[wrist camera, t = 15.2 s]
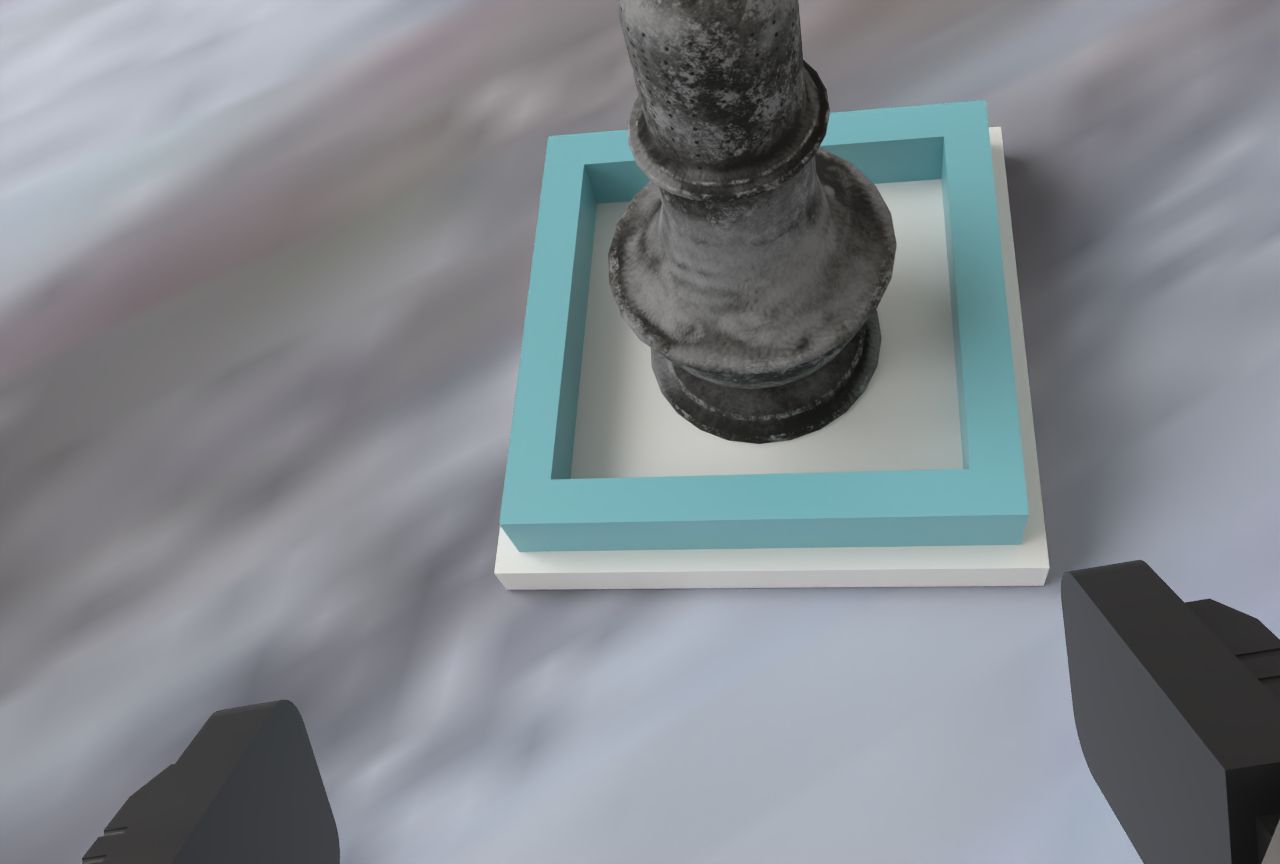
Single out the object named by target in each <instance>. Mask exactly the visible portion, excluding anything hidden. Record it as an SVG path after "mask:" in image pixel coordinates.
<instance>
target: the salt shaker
mask: <svg viewBox="0 0 1280 864" xmlns="http://www.w3.org/2000/svg"><path fill="white" fill-rule="evenodd" d="M618 2H619V18H620V22H621V26H622V30H623V34H624V38H625V42H626V46H627V50H628V54H629V58H630V62H631V66H632V70H633V74H634V78H635V82H636V86H637V90H638V96H637V97H636V99H635V101H634V102H633V105H632V109H631V112H630V116H629V119H628V143H629V146H630V149H631V151H632V154H633V156H634V159H635V161H636V164H637V165H638V167H639V168H640V169H641V170H642V171H643V172H644V174H645V175H646V176H647V177H648V178H649V179H650V181H649V182H648V183H647V184H646V185H645V186H644V187H643V188H642V189H641V190H640V191H639V192H638V193H637V194H636V195H635V196H634V197H633V198H632V200H631V202H630V203H629V205H628V207H627V208H626V210H625V211H624V213H623V215H622V216H621V218H620V220H619V221H618V223H617V224H616V228H615V231H614V235H613V238H612V242H611V246H610V249H609V253H608V268H609V286H610V288H611V291H612V294H613V296H614V299H615V302H616V304H617V307H618V310H619V312H620V315H621V317H622V318H623V319H624V320H625V322H626V323H627V324H628V325H629V327H630V328H631V329H632V330H633V332H634V333H635V334H636V335H637V337H638V338H639V339H640V340H641V341H642V342H643V343H645V344H646V345H648V346H649V347H651V364H652V369H653V372H654V374H655V377H656V380H657V382H658V385H659V388H660V390H661V393H662V394H663V396H664V397H665V398H666V399H667V401H668V402H669V403H670V404H671V406H672V407H673V408H674V410H675V411H676V412H677V413H678V414H679V415H680V416H682V417H683V418H684V419H686V420H687V421H689V422H690V423H691V424H693V425H694V426H696V427H697V428H698V429H700V430H702V431H704V432H707V433H710V434H712V435H715V436H718V437H720V438H723V439H726V440H728V441H737V442H745V443H754V444H764V443H772V442H781V441H789V440H793V439H796V438H798V437H801V436H804V435H807V434H809V433H812V432H815V431H818V430H820V429H822V428H823V427H825V426H826V425H828V424H829V423H831V422H832V421H834V420H835V419H837V418H838V417H840V416H841V415H843V414H844V413H846V412H847V411H848V410H849V408H850V407H851V406H852V405H853V404H854V403H855V402H856V401H857V399H858V398H859V397H860V396H861V395H862V394H863V393H864V392H865V390H866V388H867V386H868V384H869V382H870V380H871V378H872V376H873V374H874V372H875V370H876V368H877V366H878V359H879V352H880V346H881V331H880V325H879V319H878V313H877V310H876V309H877V307H878V305H879V303H880V301H881V299H882V297H883V295H884V293H885V291H886V289H887V287H888V285H889V283H890V281H891V279H892V273H893V266H894V260H895V253H896V246H897V243H896V238H895V232H894V227H893V221H892V216H891V212H890V210H889V209H888V207H887V205H886V203H885V201H884V200H883V198H882V196H881V194H880V192H879V191H878V189H877V187H876V186H875V185H874V184H873V183H872V182H871V181H870V180H869V179H868V178H867V177H866V176H865V175H864V174H863V173H862V172H861V171H860V170H859V169H858V168H857V167H855V166H854V165H853V164H852V163H850V162H848V161H846V160H844V159H843V158H841V157H839V156H837V155H835V154H833V153H831V152H830V151H828V150H826V149H824V148H820V145H821V143H822V141H823V139H824V138H825V136H826V132H827V126H828V121H829V116H830V110H829V103H828V97H827V90H826V88H825V87H824V85H823V83H822V81H821V79H820V77H819V75H818V74H817V72H816V71H815V70H814V69H813V68H812V67H811V66H810V65H809V64H807V63H806V62H805V61H804V60H803V53H802V41H801V28H800V16H799V3H798V0H618Z"/></svg>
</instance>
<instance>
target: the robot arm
mask: <svg viewBox="0 0 1280 864" xmlns="http://www.w3.org/2000/svg"><path fill="white" fill-rule="evenodd" d="M1061 599H1062V609H1063V618H1064V627H1065V637H1066V646H1067V655H1068V664H1069V674H1070V683H1071V692H1072V701H1073V710H1074V717H1075V723H1076V728H1077V732H1078V736H1079V740H1080V744H1081V747H1082V751H1083V754H1084V757H1085V760H1086V762H1087V765H1088V767H1089V769H1090V772H1091V774H1092V776H1093V778H1094V779H1095V781H1096V783H1097V784H1098V786H1099V788H1100V790H1101V791H1102V793H1103V795H1104V796H1105V798H1106V800H1107V801H1108V803H1109V805H1110V807H1111V808H1112V810H1113V812H1114V813H1115V815H1116V817H1117V819H1118V820H1119V822H1120V824H1121V825H1122V827H1123V829H1124V830H1125V832H1126V834H1127V836H1128V837H1129V839H1130V841H1131V842H1132V844H1133V846H1134V847H1135V849H1136V851H1137V853H1138V854H1139V856H1140V858H1141V859H1142V861H1143V863H1144V864H1280V640H1279V639H1278V638H1277V637H1276V636H1275V635H1274V634H1273V633H1272V632H1271V631H1270V630H1269V629H1268V628H1267V627H1265V626H1264V625H1263V624H1262V623H1261V622H1260V621H1259V620H1258V619H1256V618H1254V617H1252V616H1249V615H1247V614H1245V613H1242V612H1240V611H1238V610H1235V609H1233V608H1230V607H1228V606H1226V605H1223V604H1221V603H1219V602H1216V601H1214V600H1212V599H1205V600H1199V601H1193V602H1186V603H1184V602H1183V601H1182V600H1181V599H1180V598H1179V597H1178V596H1177V595H1176V594H1175V593H1174V591H1173V590H1172V589H1171V588H1170V587H1169V586H1168V585H1167V584H1166V583H1165V582H1164V581H1163V580H1162V579H1161V578H1160V577H1159V576H1158V575H1157V574H1156V573H1155V572H1154V571H1153V570H1152V569H1151V567H1150V566H1149V565H1148V564H1147V563H1145V562H1144V561H1142V560H1136V561H1130V562H1124V563H1118V564H1112V565H1106V566H1100V567H1094V568H1088V569H1082V570H1076V571H1069V572H1065V573H1064V574H1063V576H1062V581H1061ZM82 860H83V863H82V864H339V863H340V849H339V838H338V832H337V827H336V823H335V820H334V817H333V813H332V810H331V807H330V804H329V801H328V798H327V794H326V791H325V788H324V785H323V782H322V779H321V776H320V772H319V769H318V766H317V763H316V760H315V757H314V753H313V750H312V747H311V744H310V741H309V738H308V734H307V731H306V728H305V725H304V722H303V719H302V717H301V715H300V713H299V711H298V709H297V708H296V706H295V705H294V704H293V703H292V702H290V701H289V700H279V701H273V702H267V703H261V704H255V705H249V706H243V707H237V708H231V709H225V710H219V711H217V712H215V713H213V715H212V716H211V717H210V718H209V719H208V721H207V722H206V723H205V725H204V726H203V727H202V729H201V730H200V731H199V733H198V734H197V735H196V737H195V738H194V739H193V741H192V742H191V743H190V745H189V746H188V747H187V749H186V750H185V751H184V753H183V754H182V755H181V757H180V758H179V759H178V761H177V762H176V763H175V764H172V765H170V766H169V767H168V768H166V769H165V770H164V771H162V772H161V773H160V774H159V775H157V776H156V777H155V778H153V779H152V780H151V781H150V782H148V783H147V784H146V785H144V786H143V787H142V788H141V789H139V790H138V791H137V792H135V793H134V794H133V795H132V796H130V797H129V799H128V800H127V801H126V802H125V804H124V805H123V806H122V808H121V809H120V810H119V811H118V813H117V814H116V815H115V817H114V818H113V819H112V821H111V822H110V823H109V824H108V826H107V827H106V828H105V830H104V836H103V837H98V839H97V840H96V841H95V842H94V844H93V845H92V846H91V848H90V849H89V850H88V851H87V853H86V854H85V855H84V857H83V858H82Z"/></svg>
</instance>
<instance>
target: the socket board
mask: <svg viewBox="0 0 1280 864" xmlns="http://www.w3.org/2000/svg"><path fill="white" fill-rule="evenodd" d="M820 148H824V149H826V150H828V151H830V152H831V153H833V154H835V155H837V156H839V157H841V158H843V159H844V160H846V161H848V162H850V163H852V164H853V165H854V166H855V167H857V168H858V169H859V170H860V171H861V172H862V173H863V174H864V175H865V176H866V177H867V178H868V179H869V180H870V181H871V182H872V183H873V184H874V185H875V186H876V187H877V189H878V191H879V192H880V194H881V196H882V198H883V200H884V201H885V203H886V205H887V207H888V209H889V210H890V212H891V216H892V221H893V227H894V232H895V238H896V243H897V246H896V253H895V260H894V266H893V273H892V279H891V281H890V283H889V285H888V287H887V289H886V291H885V293H884V295H883V297H882V299H881V301H880V303H879V305H878V307H877V309H876V310H877V313H878V319H879V325H880V331H881V346H880V352H879V359H878V366H877V368H876V370H875V372H874V374H873V376H872V378H871V380H870V382H869V384H868V386H867V388H866V390H865V392H864V393H863V394H862V395H861V396H860V397H859V398H858V399H857V401H856V402H855V403H854V404H853V405H852V406H851V407H850V408H849V410H848V411H847V412H846V413H844V414H843V415H841V416H840V417H838V418H837V419H835V420H834V421H832V422H831V423H829V424H828V425H826V426H825V427H823V428H822V429H820V430H818V431H815V432H812V433H809V434H807V435H804V436H801V437H798V438H796V439H793V440H789V441H781V442H772V443H764V444H754V443H745V442H737V441H728V440H726V439H723V438H720V437H718V436H715V435H712V434H710V433H707V432H704V431H702V430H700V429H698V428H697V427H696V426H694V425H693V424H691V423H690V422H689V421H687V420H686V419H684V418H683V417H682V416H680V415H679V414H678V413H677V412H676V411H675V410H674V408H673V407H672V406H671V404H670V403H669V402H668V401H667V399H666V398H665V397H664V396H663V394H662V393H661V390H660V388H659V385H658V382H657V380H656V377H655V374H654V372H653V369H652V364H651V347H649V346H648V345H646V344H645V343H643V342H642V341H641V340H640V339H639V338H638V337H637V335H636V334H635V333H634V332H633V330H632V329H631V328H630V327H629V325H628V324H627V323H626V322H625V320H624V319H623V318H622V317H621V315H620V312H619V310H618V307H617V304H616V302H615V299H614V296H613V294H612V291H611V288H610V286H609V268H608V253H609V249H610V246H611V242H612V238H613V235H614V231H615V228H616V224H617V223H618V221H619V220H620V218H621V216H622V215H623V213H624V211H625V210H626V208H627V207H628V205H629V203H630V202H631V200H632V198H633V197H634V196H635V195H636V194H637V193H638V192H639V191H640V190H641V189H642V188H643V187H644V186H645V185H646V184H647V183H648V182H649V181H650V179H649V178H648V177H647V176H646V175H645V174H644V172H643V171H642V170H641V169H640V168H639V167H638V165H637V164H636V161H635V159H634V156H633V154H632V151H631V149H630V146H629V143H628V130H618V131H606V132H594V133H582V134H570V135H558V136H548V142H547V150H546V158H545V166H544V174H543V182H542V190H541V198H540V205H539V213H538V221H537V229H536V237H535V245H534V253H533V261H532V269H531V277H530V285H529V293H528V301H527V308H526V316H525V324H524V332H523V340H522V348H521V356H520V364H519V372H518V380H517V388H516V396H515V404H514V412H513V419H512V427H511V435H510V443H509V451H508V459H507V467H506V475H505V483H504V491H503V499H502V507H501V515H500V523H499V525H500V532H499V540H498V548H497V556H496V564H495V572H494V574H495V575H496V576H497V578H498V579H499V580H500V581H501V583H502V584H503V585H504V586H505V588H506V589H507V590H538V589H671V588H803V587H936V586H1044V583H1045V580H1046V577H1047V574H1048V571H1049V559H1048V550H1047V541H1046V531H1045V522H1044V513H1043V504H1042V495H1041V486H1040V477H1039V468H1038V459H1037V450H1036V441H1035V432H1034V423H1033V414H1032V405H1031V395H1030V386H1029V377H1028V368H1027V359H1026V350H1025V341H1024V332H1023V323H1022V314H1021V305H1020V296H1019V287H1018V278H1017V269H1016V259H1015V250H1014V241H1013V232H1012V223H1011V214H1010V205H1009V196H1008V187H1007V178H1006V169H1005V160H1004V151H1003V142H1002V133H1001V127H989V126H988V116H987V107H986V100H978V101H966V102H954V103H942V104H930V105H918V106H906V107H894V108H882V109H870V110H858V111H846V112H834V113H830V116H829V121H828V126H827V132H826V136H825V138H824V139H823V141H822V143H821V145H820Z"/></svg>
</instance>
